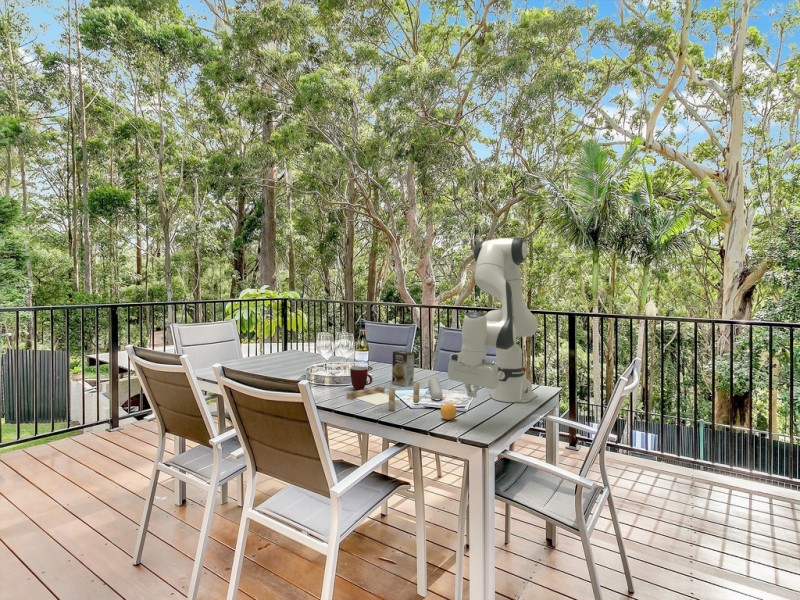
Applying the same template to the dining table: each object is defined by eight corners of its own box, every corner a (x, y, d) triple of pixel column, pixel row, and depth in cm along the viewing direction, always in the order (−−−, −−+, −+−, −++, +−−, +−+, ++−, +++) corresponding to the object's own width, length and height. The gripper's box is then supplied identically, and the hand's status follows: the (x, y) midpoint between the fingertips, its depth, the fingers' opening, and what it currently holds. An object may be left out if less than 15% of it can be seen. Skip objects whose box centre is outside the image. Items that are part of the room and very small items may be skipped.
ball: (447, 415, 177) (447, 400, 176) (459, 419, 172) (460, 403, 172) (436, 419, 172) (437, 403, 172) (449, 423, 168) (449, 406, 168)
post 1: (391, 409, 184) (392, 386, 183) (396, 410, 182) (396, 388, 182) (387, 410, 182) (387, 387, 182) (391, 411, 181) (391, 389, 180)
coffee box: (391, 384, 226) (392, 351, 225) (399, 381, 231) (400, 350, 230) (405, 387, 220) (406, 353, 219) (414, 385, 225) (414, 352, 224)
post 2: (416, 402, 194) (416, 381, 193) (420, 404, 192) (420, 382, 191) (412, 403, 192) (412, 382, 191) (416, 405, 190) (416, 383, 190)
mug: (374, 388, 217) (374, 367, 216) (370, 392, 209) (370, 370, 208) (352, 386, 219) (353, 366, 218) (347, 391, 211) (348, 369, 210)
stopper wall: (381, 391, 212) (381, 385, 212) (384, 392, 211) (384, 386, 210) (346, 398, 198) (347, 392, 198) (349, 399, 197) (349, 393, 197)
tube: (445, 393, 196) (441, 379, 221) (433, 389, 196) (430, 375, 221) (441, 404, 196) (437, 389, 221) (429, 400, 196) (426, 386, 221)
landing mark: (379, 393, 208) (379, 392, 208) (401, 399, 198) (401, 399, 198) (355, 398, 199) (355, 397, 199) (376, 405, 189) (376, 405, 189)
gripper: (503, 361, 158) (501, 401, 158) (456, 353, 172) (455, 389, 173) (492, 363, 153) (490, 404, 154) (445, 354, 168) (444, 392, 169)
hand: (471, 396), depth 164 cm, fingers closed
